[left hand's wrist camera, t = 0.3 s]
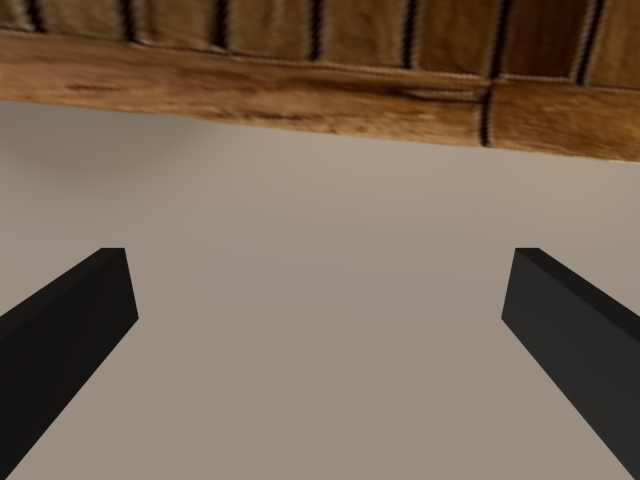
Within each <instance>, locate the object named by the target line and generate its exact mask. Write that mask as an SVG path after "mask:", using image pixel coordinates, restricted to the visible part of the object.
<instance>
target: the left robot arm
mask: <svg viewBox="0 0 640 480" xmlns="http://www.w3.org/2000/svg"><path fill="white" fill-rule="evenodd" d="M138 319H139V317H138V312H137V307H136V302H135V297H134V293H133V287H132V283H131V278H130V273H129V268H128V263H127V258H126V253H125V248H101V249H99V250H98V251H96V252H95V253H93V254H92V255H90V256H89V257H87V258H86V259H84V260H83V261H82V262H80V263H79V264H77V265H76V266H74V267H73V268H71V269H70V270H68V271H67V272H65V273H64V274H62V275H61V276H59V277H58V278H56V279H55V280H54V281H52V282H51V283H49V284H48V285H46V286H45V287H43V288H42V289H40V290H39V291H37V292H36V293H34V294H33V295H31V296H30V297H28V298H27V299H26V300H24V301H23V302H21V303H20V304H18V305H17V306H15V307H14V308H12V309H11V310H9V311H8V312H6V313H5V314H3V315H2V316H0V480H5V479H6V478H7V477H8V476H9V475H10V473H11V472H12V471H13V470H14V469H15V467H16V466H17V465H18V464H19V463H20V461H21V460H22V459H23V458H24V456H25V455H26V454H27V453H28V452H29V450H30V449H31V448H32V447H33V446H34V444H35V443H36V442H37V441H38V439H39V438H40V437H41V436H42V435H43V433H44V432H45V431H46V430H47V429H48V427H49V426H50V425H51V424H52V423H53V421H54V420H55V419H56V418H57V417H58V415H59V414H60V413H61V412H62V411H63V409H64V408H65V407H66V406H67V405H68V403H69V402H70V401H71V400H72V398H73V397H74V396H75V395H76V394H77V392H78V391H79V390H80V389H81V388H82V386H83V385H84V384H85V383H86V382H87V380H88V379H89V378H90V377H91V376H92V374H93V373H94V372H95V371H96V369H97V368H98V367H99V366H100V365H101V363H102V362H103V361H104V360H105V359H106V357H107V356H108V355H109V354H110V353H111V351H112V350H113V349H114V348H115V347H116V345H117V344H118V343H119V342H120V340H121V339H122V338H123V337H124V336H125V335H126V333H127V332H128V331H129V330H130V328H131V327H132V326H133V325H134V324H135V322H136V321H137V320H138ZM501 319H502V320H503V321H504V322H505V324H506V325H507V326H508V327H509V328H510V330H511V331H512V332H513V333H514V334H515V336H516V337H517V338H518V339H519V341H520V342H521V343H522V344H523V345H524V347H525V348H526V349H527V350H528V351H529V353H530V354H531V355H532V356H533V357H534V359H535V360H536V361H537V362H538V363H539V365H540V366H541V367H542V368H543V370H544V371H545V372H546V373H547V374H548V376H549V377H550V378H551V379H552V380H553V382H554V383H555V384H556V385H557V386H558V388H559V389H560V390H561V391H562V392H563V394H564V395H565V396H566V397H567V399H568V400H569V401H570V402H571V403H572V405H573V406H574V407H575V408H576V409H577V411H578V412H579V413H580V414H581V415H582V417H583V418H584V419H585V420H586V421H587V423H588V424H589V425H590V426H591V427H592V429H593V430H594V431H595V432H596V433H597V435H598V436H599V437H600V438H601V440H602V441H603V442H604V443H605V444H606V446H607V447H608V448H609V449H610V450H611V452H612V453H613V454H614V455H615V456H616V458H617V459H618V460H619V461H620V462H621V464H622V465H623V466H624V467H625V469H626V470H627V471H628V472H629V473H630V475H631V476H632V477H633V478H634V479H635V480H640V316H638V315H637V314H635V313H634V312H632V311H631V310H629V309H628V308H626V307H625V306H623V305H622V304H620V303H619V302H617V301H616V300H614V299H613V298H612V297H610V296H609V295H607V294H606V293H604V292H603V291H601V290H600V289H598V288H597V287H595V286H594V285H592V284H591V283H589V282H588V281H586V280H585V279H584V278H582V277H581V276H579V275H578V274H576V273H575V272H573V271H572V270H570V269H569V268H567V267H566V266H564V265H563V264H561V263H560V262H558V261H557V260H556V259H554V258H553V257H551V256H550V255H548V254H547V253H545V252H544V251H542V250H541V249H539V248H515V253H514V258H513V263H512V268H511V273H510V278H509V283H508V288H507V292H506V297H505V302H504V307H503V312H502V317H501Z"/></svg>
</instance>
